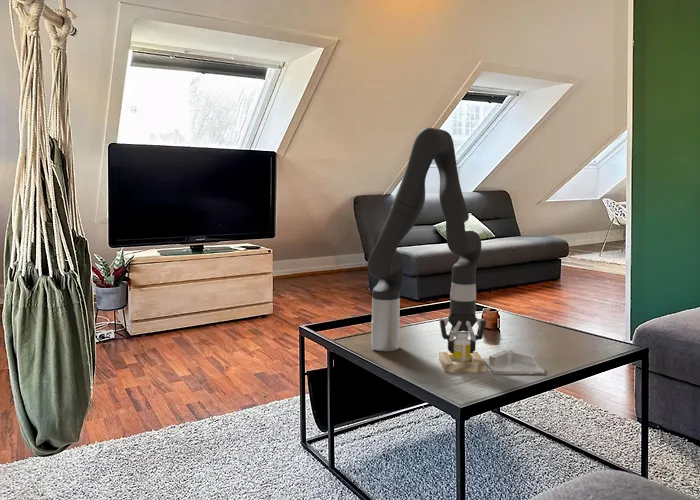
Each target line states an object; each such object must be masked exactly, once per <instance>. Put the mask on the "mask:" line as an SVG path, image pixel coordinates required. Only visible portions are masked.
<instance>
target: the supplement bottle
mask: <svg viewBox="0 0 700 500" xmlns="http://www.w3.org/2000/svg"><path fill="white" fill-rule="evenodd" d="M469 337H470V335H469V333H468V331H457V333H456V335H455V337H454V339H453V353H452V362H470V348H471V341H470V340H471V339H469Z"/></svg>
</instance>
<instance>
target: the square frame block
mask: <svg viewBox="0 0 700 500" xmlns="http://www.w3.org/2000/svg"><path fill="white" fill-rule="evenodd" d="M438 362H439V363H440V365H441V367H442V369H443V371H444V373H445V374H447V373H451V374H452V373H453V374H455V373H456V374H457V373H459V374H460V373H461V374H462V373H465V374H466V373H472V374H473V373H475V374H479V373H482V374H484V373H485V374H487V366H486V363H485V362H484V360H483V357H482V356H481V354H479V352H478V351H473V353H470V362H452V353H450V351H439V352H438Z"/></svg>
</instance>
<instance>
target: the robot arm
mask: <svg viewBox="0 0 700 500" xmlns="http://www.w3.org/2000/svg"><path fill="white" fill-rule="evenodd" d="M433 161H434V163H435V165H436V167H437V170H438V173H439V174H438V175H439V191H438V192H439V193H438V194H439V195H438V196H439V203H440V206H441V207H440V208H441V210H442V213H443V216H444V220H445V234H446V236H445V238H446V244H447V247H448V249H449V251H450V252H451V253H452V254H453V255H455V256H458V261H457V262H456V263H455V262H454V263H453V265H452V267H451V269H452V270H451V286H450V293H449V297H450V299H449V305H450V306H449V315H448V317H446V318H442V317H440V318H439V320H438V321H439V326H440V331H441V337H442V338H443V339H444V340H447V350H448V352H450V353H453V339H454V338H456V337H455V335H456V333H457V331H467V332H468V333H469V338H470V339H469V340H470V341H471V348H470V353H473V352H476V343H477V342H476V341H478V340H482V339H483V335H484V331H485V327H486V324H487V323H486V322H487V321H486V320H485V319H484V318H477V315H476V307H477V306H476V305H477V288H476V287H477V285H476V278H477V276H476V275H477V267H478V264H479V260H480V257H481V251H482V239H481V237H480V235H479V234H478V233H477V231H474V230H466V224H465V223H466V222H467V221H468V220H469V219H470V218H469V216H470V215H469V211H468V208H467V204H466V201H465V197H464V195H463V192H462V187H461V183H460V178H459V172H458V165H457V160H456V152H455V146H454V140H453V138H452V135H451V134H450V133H449V132H448V130H444V129H441V128H434V127H425V128H423V129H421V130H420V131H419V132H418V133H417V135H416V136H415V139H414V142H413V144H412V149H411V152H410V156H409V158H408V162H407V166H406V169H405V172H404V175H403V177H402V179H401V182H400V184H399V185H400V186H399V188H398V190H397V192H396V195H395V196H394V199H393V202H392V203H391V204H392V205H391V207H390V209H389V213H388V216H387V218H386V220H385V223H384V225H383V227H382V229H381V233H380V235H379V236H378V239H377V241H376V243H375V244H374V247H373V248H372V250H371V252H370V253H369V256H368V260H367V270H368V273H369V275H370V276H371V277H372V278H373V279H378V282H377V284H376V285H375V286H374V287H373V289H372V290H371V350H372V351H379V352H393V351H397V350H398V349H400V316H401V315H400V308H401V307H400V303H401V298H400V297H401V295H400V293H401V291H402V288H403V281H404V279H403V278H404V277H403V276H404V261H403V257H402V254H401V253H400V252H399V251H398V246H400V244H401V242H402V240H403V239H404V238H405V237H406V236H407V235H408V233H409V232H410V231H411V229H413V227H414V226H415V225H416V223H417V221H418V219H419V217H420V215H421V212H422V211H423V207H424V204H425V201H426V178H427V174H428V172H429V169H430V167H431V164H432V163H433ZM448 323H449V324H450V325H451V328H450V330H449V333H448V334H447V329H446V326H448ZM475 324H477V326H478V327H477V333H476V334H475V332H474V329H473V327H474V326H475Z"/></svg>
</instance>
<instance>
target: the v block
mask: <svg viewBox="0 0 700 500" xmlns="http://www.w3.org/2000/svg"><path fill="white" fill-rule="evenodd" d="M482 359H483V360H484V362H485V363H486V368H487V369H488V370H489V371H490V373H491V374H492V375H530V374H529V373H544V374H545V370H544V369H543V368H542V367H541V366H540V365H539V364H538V363H537V355H533V354H530V353H529V354H528V353H524V352H520V351H516V350H513V349H502V350H501V351H499V352H496V353H494V354H492V355H489V356H488V357H486V358H485V357H482Z"/></svg>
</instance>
